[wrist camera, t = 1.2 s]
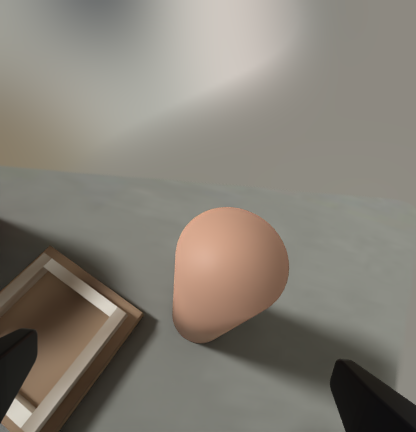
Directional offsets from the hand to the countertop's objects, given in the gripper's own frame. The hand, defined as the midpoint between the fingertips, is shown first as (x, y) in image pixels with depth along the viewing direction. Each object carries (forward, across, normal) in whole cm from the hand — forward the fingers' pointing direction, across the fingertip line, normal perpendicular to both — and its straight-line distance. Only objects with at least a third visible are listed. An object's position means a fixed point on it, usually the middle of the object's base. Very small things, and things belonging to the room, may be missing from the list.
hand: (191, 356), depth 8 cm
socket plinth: (+11, +10, +9) cm, 17 cm away
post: (+13, -1, +7) cm, 14 cm away
